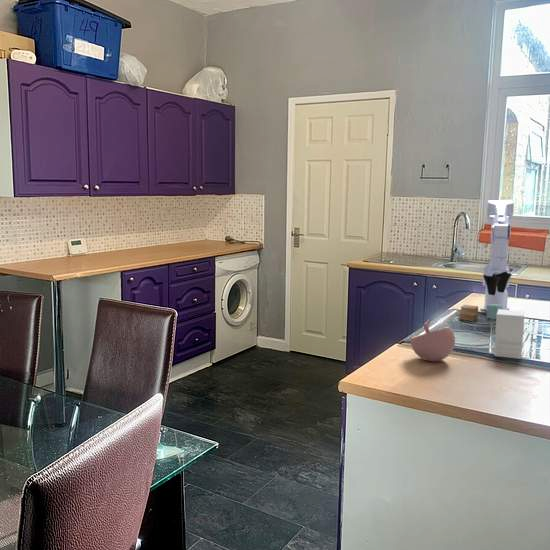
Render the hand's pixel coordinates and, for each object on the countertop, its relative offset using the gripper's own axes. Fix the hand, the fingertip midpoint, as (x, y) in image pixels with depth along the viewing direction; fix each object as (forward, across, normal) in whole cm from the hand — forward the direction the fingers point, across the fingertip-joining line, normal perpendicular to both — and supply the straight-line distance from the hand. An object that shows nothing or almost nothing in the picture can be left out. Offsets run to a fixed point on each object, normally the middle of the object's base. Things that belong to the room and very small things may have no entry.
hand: (496, 293), depth 207 cm
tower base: (+10, -8, +6) cm, 14 cm away
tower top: (+7, -8, +6) cm, 12 cm away
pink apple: (+10, -62, -10) cm, 64 cm away
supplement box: (+10, -41, -23) cm, 48 cm away
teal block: (+10, 0, 0) cm, 10 cm away
